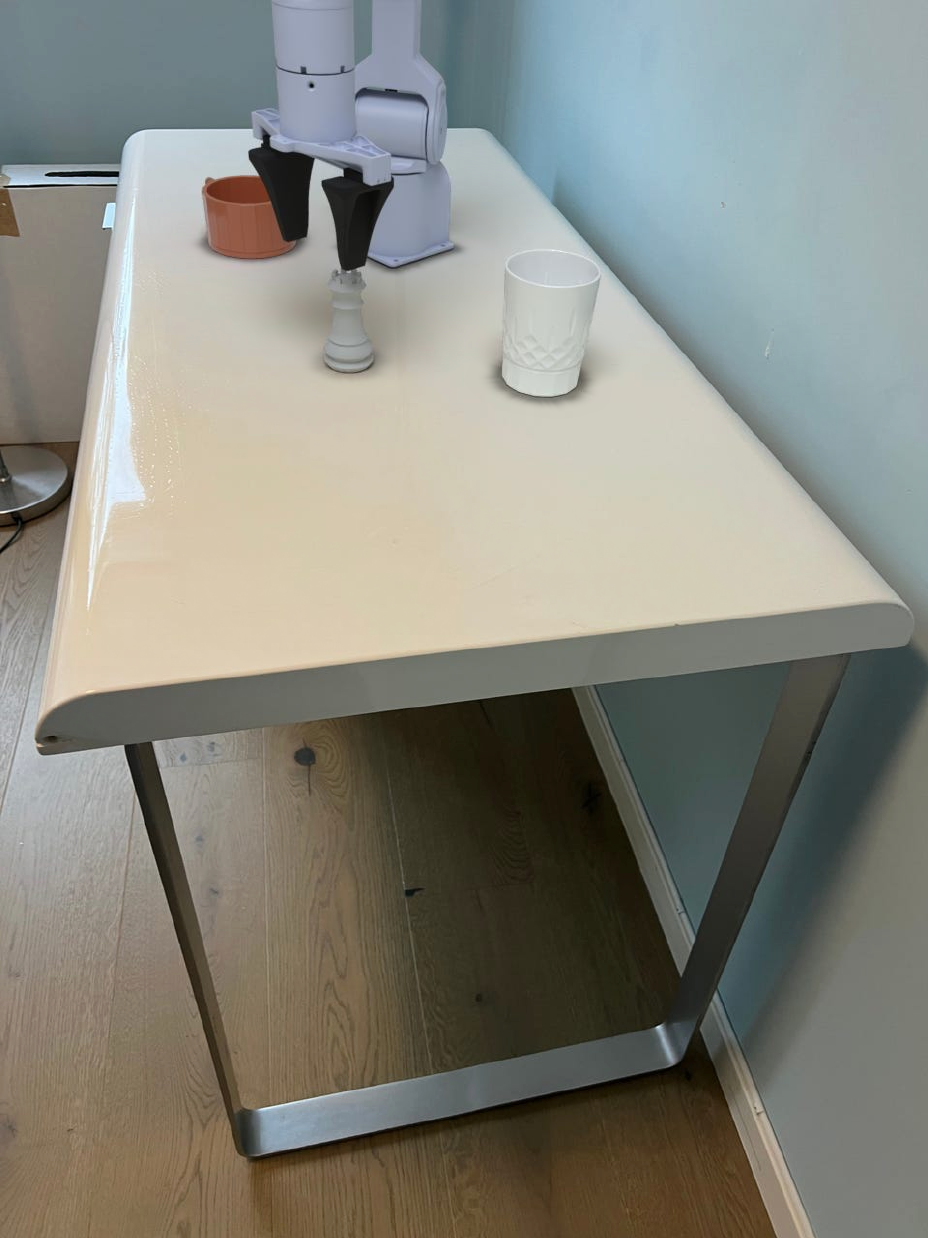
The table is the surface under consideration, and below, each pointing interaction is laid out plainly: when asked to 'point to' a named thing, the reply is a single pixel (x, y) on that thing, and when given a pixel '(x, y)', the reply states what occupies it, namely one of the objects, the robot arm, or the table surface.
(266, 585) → the table surface
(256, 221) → the mug
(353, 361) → the rook chess piece
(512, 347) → the white cup
